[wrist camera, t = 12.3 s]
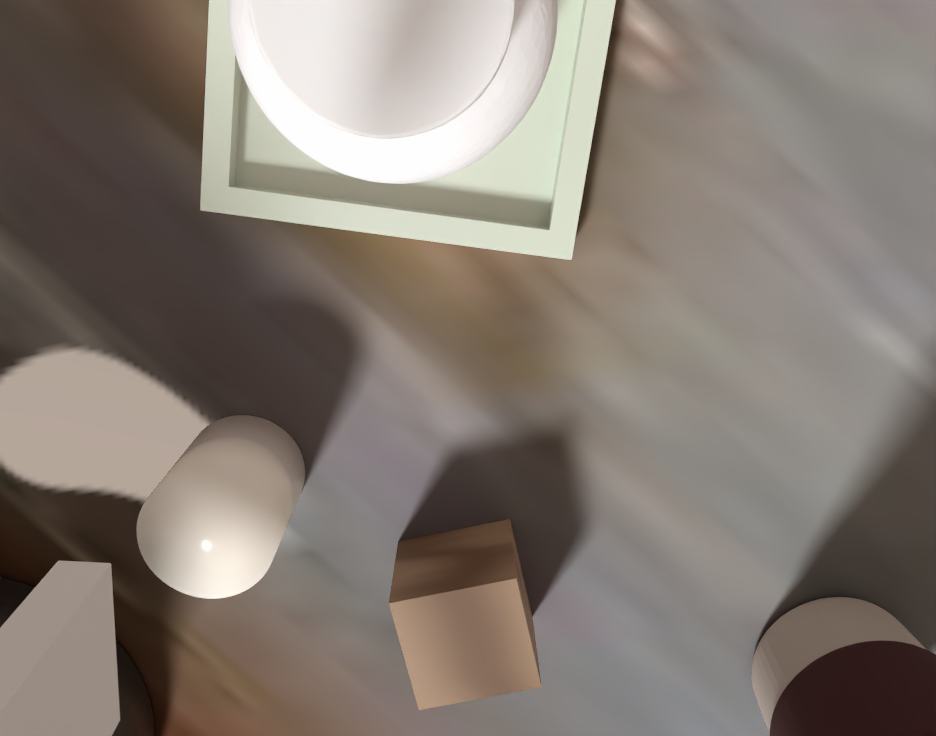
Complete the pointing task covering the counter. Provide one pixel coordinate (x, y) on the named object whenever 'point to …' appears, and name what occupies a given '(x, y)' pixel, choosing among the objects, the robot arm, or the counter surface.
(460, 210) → the tray
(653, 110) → the counter surface
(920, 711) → the coffee cup
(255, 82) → the pill bottle
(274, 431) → the white cylinder
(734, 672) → the counter surface
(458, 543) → the wooden cube
